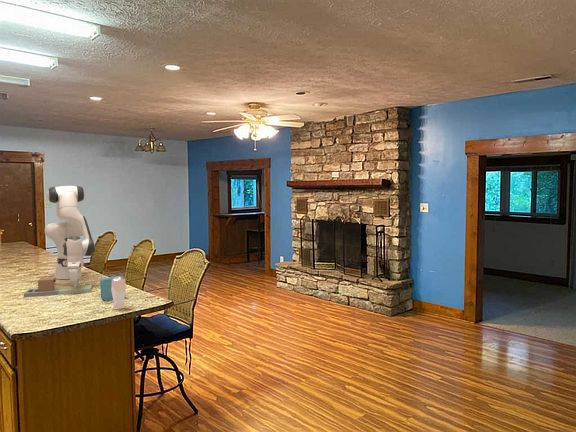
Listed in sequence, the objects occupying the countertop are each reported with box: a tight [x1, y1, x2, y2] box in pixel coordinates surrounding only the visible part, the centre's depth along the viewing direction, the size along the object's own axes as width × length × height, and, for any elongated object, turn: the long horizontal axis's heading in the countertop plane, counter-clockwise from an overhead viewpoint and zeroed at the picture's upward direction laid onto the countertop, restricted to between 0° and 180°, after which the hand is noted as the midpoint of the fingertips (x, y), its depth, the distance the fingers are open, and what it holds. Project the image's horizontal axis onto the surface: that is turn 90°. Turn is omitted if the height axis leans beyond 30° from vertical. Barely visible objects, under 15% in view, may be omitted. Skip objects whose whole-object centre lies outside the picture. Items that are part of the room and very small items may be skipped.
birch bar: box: [54, 280, 79, 290], centre depth 268 cm, size 4×16×4 cm, turn 108°
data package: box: [99, 275, 124, 302], centre depth 250 cm, size 12×4×12 cm, turn 128°
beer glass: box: [111, 277, 127, 310], centre depth 230 cm, size 7×7×15 cm
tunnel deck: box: [23, 276, 93, 298], centre depth 268 cm, size 13×35×9 cm, turn 108°
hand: (76, 286), depth 271 cm, fingers closed on birch bar, 4 cm apart
